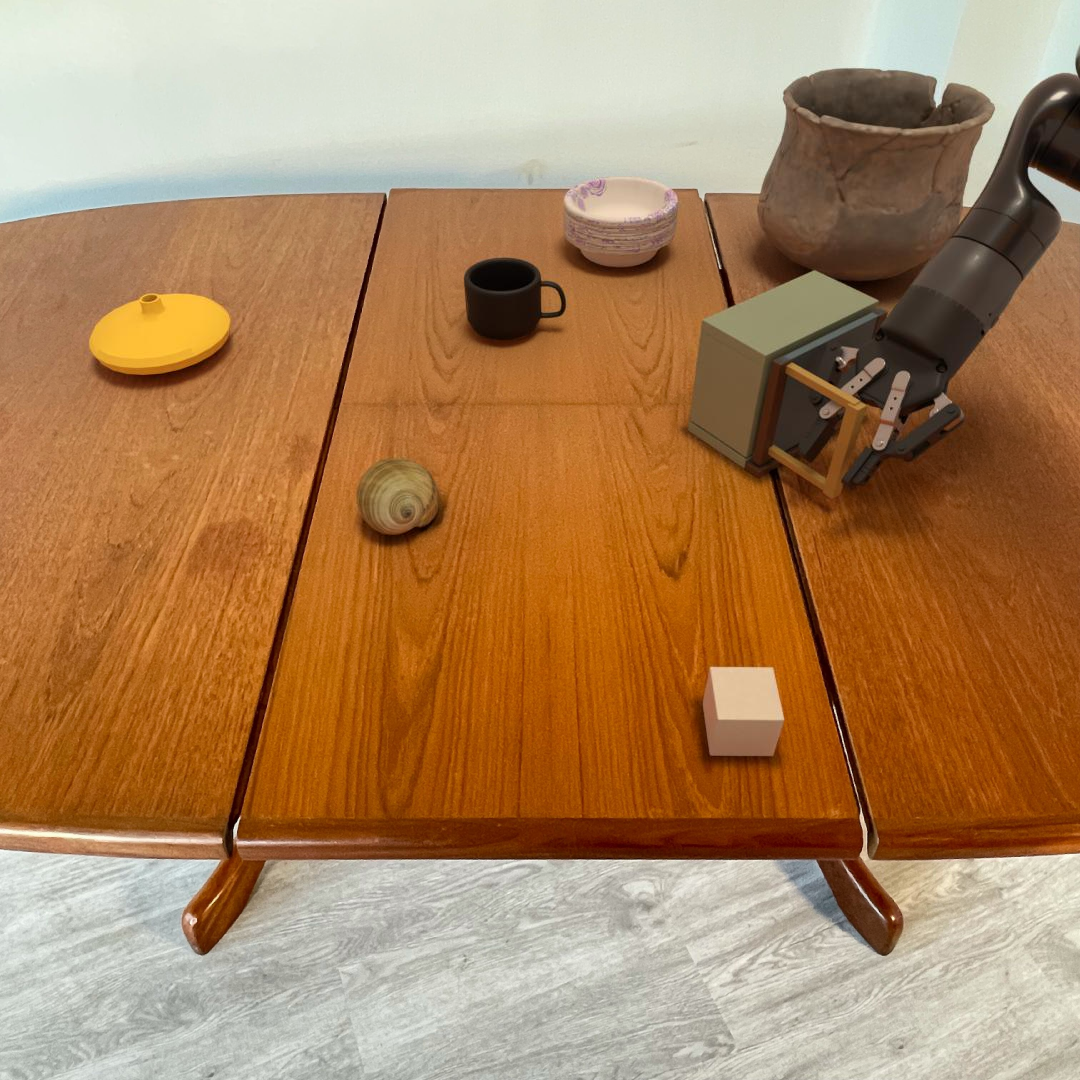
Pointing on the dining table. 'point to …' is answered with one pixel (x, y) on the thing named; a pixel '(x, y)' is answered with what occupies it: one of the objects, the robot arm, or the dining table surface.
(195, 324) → the vase
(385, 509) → the seashell
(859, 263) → the pot
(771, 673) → the block
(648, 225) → the paper bowls
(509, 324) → the mug
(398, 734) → the dining table surface
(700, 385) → the cabinet
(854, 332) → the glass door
